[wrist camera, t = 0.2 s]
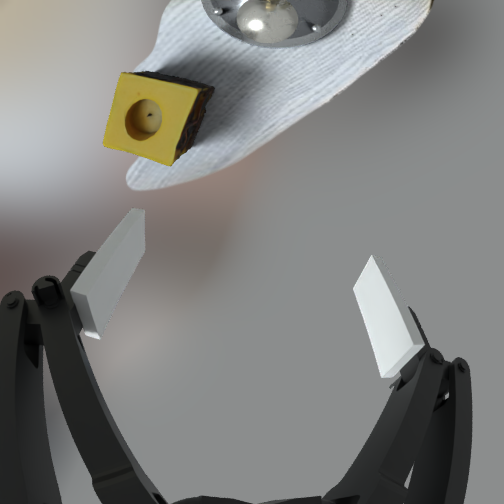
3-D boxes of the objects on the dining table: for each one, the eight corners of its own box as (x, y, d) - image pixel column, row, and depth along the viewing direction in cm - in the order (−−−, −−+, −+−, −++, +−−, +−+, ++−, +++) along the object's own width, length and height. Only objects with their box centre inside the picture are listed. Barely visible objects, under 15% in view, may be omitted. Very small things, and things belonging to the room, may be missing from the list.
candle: (216, 87, 32) (202, 87, 24) (192, 149, 38) (173, 169, 30) (152, 70, 30) (121, 68, 22) (133, 131, 36) (101, 146, 27)
